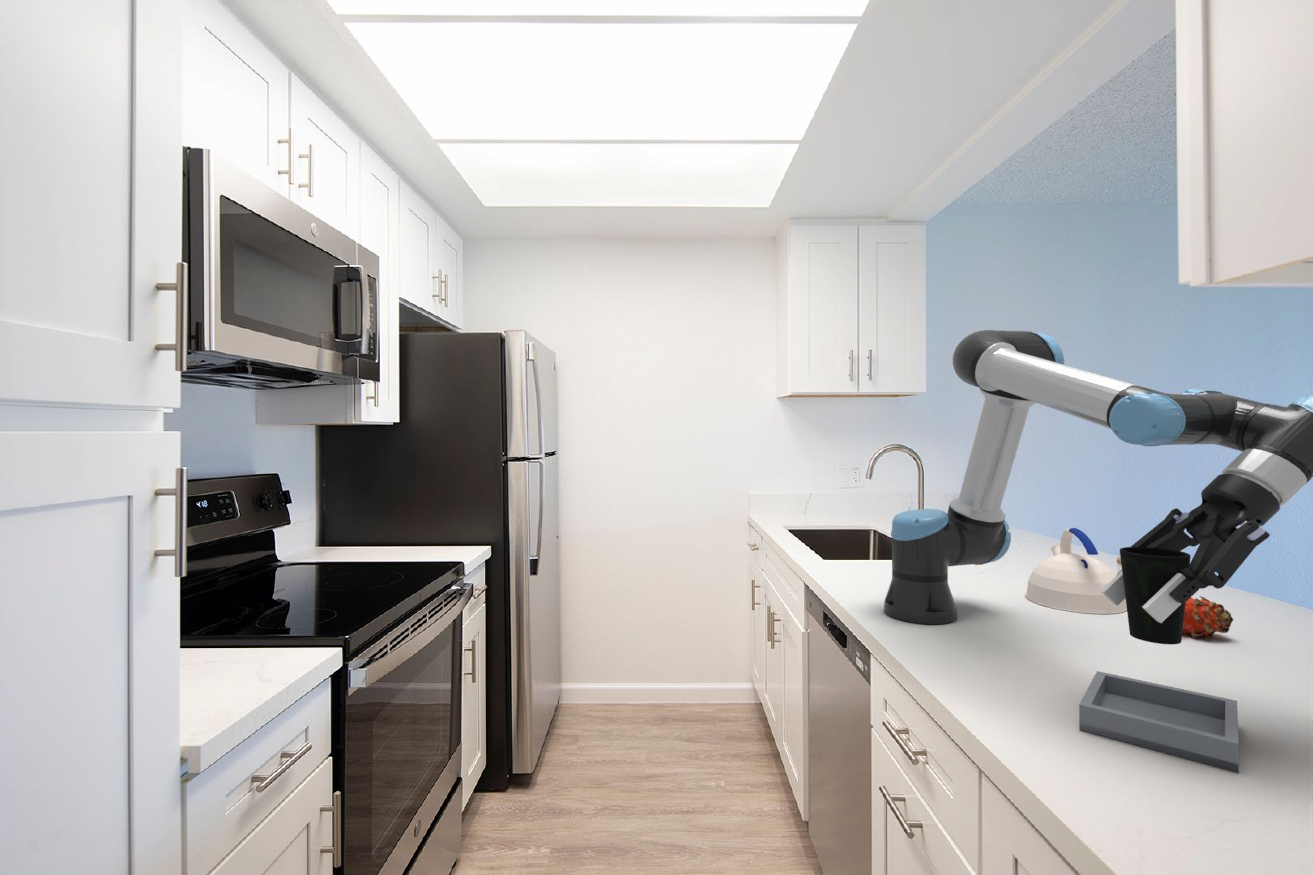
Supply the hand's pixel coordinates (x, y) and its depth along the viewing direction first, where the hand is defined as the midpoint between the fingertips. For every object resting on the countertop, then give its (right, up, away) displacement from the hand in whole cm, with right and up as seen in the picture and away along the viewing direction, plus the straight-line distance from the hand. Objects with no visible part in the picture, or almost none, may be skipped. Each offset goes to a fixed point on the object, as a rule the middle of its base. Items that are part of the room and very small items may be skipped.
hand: (1129, 606), depth 85 cm
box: (+4, -17, 0) cm, 17 cm away
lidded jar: (+60, -16, +72) cm, 95 cm away
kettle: (+35, -17, +62) cm, 73 cm away
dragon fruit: (+42, -17, +38) cm, 59 cm away
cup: (+3, -5, 0) cm, 6 cm away
